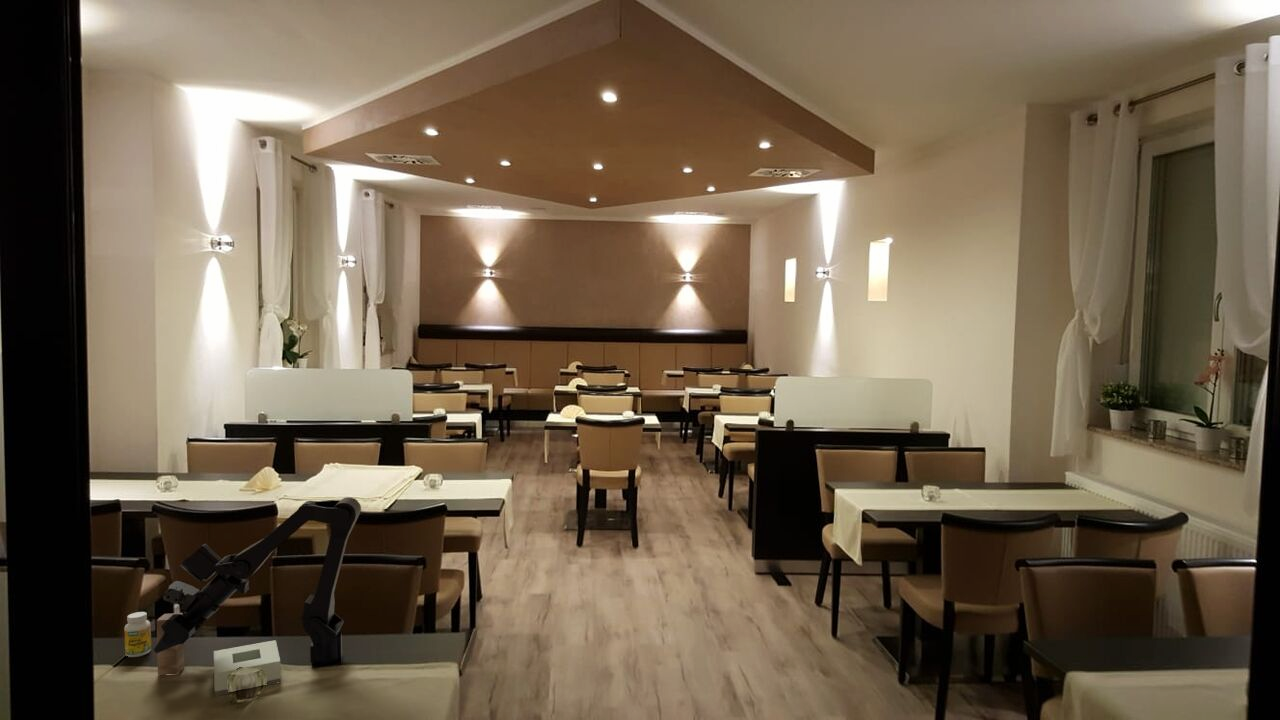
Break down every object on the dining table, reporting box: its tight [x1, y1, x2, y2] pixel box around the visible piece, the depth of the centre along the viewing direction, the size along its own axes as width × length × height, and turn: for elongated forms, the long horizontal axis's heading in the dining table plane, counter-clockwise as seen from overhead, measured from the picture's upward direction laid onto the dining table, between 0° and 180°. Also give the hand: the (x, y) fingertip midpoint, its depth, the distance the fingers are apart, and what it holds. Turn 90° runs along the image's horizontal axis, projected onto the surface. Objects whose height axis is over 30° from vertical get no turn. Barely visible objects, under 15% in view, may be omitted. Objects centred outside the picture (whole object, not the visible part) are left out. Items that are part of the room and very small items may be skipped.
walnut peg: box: [156, 612, 185, 676], centre depth 177 cm, size 4×4×13 cm
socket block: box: [213, 639, 282, 697], centre depth 175 cm, size 13×13×5 cm
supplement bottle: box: [123, 611, 152, 658], centre depth 187 cm, size 5×5×10 cm
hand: (164, 643), depth 177 cm, fingers open, 9 cm apart
